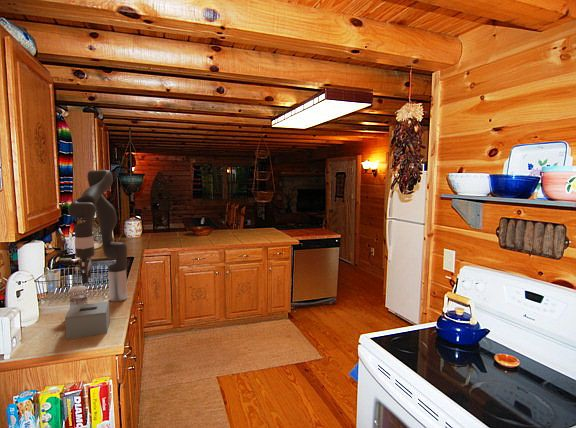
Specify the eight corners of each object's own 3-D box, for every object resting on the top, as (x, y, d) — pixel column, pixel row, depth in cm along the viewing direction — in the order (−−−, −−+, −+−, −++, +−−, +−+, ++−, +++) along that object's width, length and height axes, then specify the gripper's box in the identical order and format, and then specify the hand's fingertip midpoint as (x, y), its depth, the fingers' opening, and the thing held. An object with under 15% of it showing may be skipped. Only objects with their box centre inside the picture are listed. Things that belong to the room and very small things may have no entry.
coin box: (72, 325, 166) (71, 305, 165) (109, 320, 172) (108, 301, 171) (66, 338, 153) (65, 317, 152) (107, 333, 159) (105, 312, 158)
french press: (91, 309, 184) (89, 264, 181) (88, 318, 174) (85, 270, 171) (70, 312, 181) (67, 265, 177) (65, 321, 170) (62, 272, 167)
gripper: (77, 243, 162) (80, 276, 165) (72, 250, 149) (74, 286, 152) (95, 242, 165) (97, 274, 167) (91, 248, 152) (93, 284, 154)
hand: (86, 280), depth 160 cm, fingers open, 8 cm apart
